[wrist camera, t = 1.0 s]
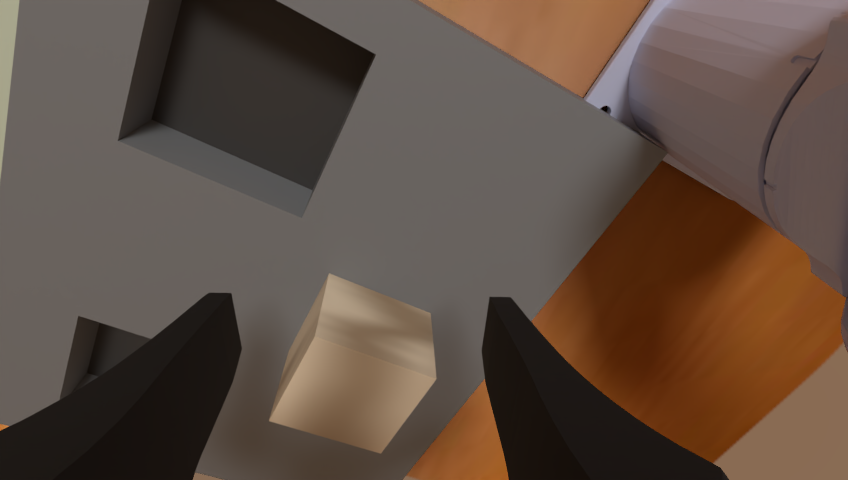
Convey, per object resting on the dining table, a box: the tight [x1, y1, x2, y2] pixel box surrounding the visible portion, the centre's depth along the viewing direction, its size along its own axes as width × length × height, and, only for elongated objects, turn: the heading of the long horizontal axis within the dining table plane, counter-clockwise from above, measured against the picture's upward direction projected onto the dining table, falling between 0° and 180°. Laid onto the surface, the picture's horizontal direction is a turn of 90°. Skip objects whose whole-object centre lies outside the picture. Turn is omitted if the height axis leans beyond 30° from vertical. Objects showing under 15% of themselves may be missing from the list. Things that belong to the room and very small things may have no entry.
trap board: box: [0, 0, 668, 480], centre depth 21 cm, size 28×27×4 cm
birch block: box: [269, 273, 437, 454], centre depth 20 cm, size 5×5×4 cm
